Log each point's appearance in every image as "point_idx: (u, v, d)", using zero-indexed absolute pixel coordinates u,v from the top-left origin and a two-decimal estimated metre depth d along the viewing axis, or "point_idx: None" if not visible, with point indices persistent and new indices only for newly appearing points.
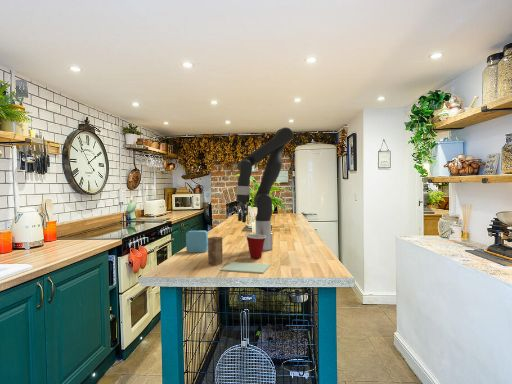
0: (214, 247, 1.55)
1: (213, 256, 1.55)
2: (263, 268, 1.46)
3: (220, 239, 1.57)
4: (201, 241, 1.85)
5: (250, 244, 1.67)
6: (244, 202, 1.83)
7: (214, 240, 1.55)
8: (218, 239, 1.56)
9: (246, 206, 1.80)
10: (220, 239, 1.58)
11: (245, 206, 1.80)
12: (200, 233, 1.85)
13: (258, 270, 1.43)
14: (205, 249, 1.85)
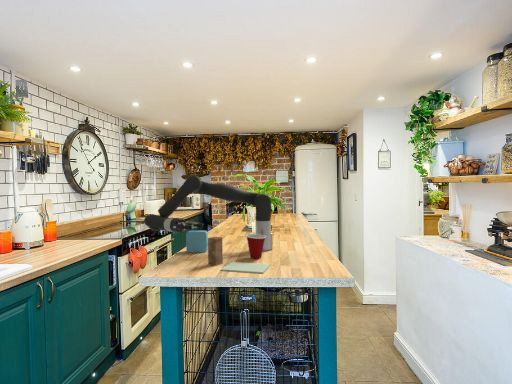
0: (214, 247, 1.55)
1: (213, 256, 1.55)
2: (263, 268, 1.46)
3: (220, 239, 1.57)
4: (201, 241, 1.85)
5: (250, 244, 1.67)
6: None
7: (214, 240, 1.55)
8: (218, 239, 1.56)
9: (174, 226, 1.62)
10: (220, 239, 1.58)
11: (174, 227, 1.62)
12: (200, 233, 1.85)
13: (258, 270, 1.43)
14: (205, 249, 1.85)
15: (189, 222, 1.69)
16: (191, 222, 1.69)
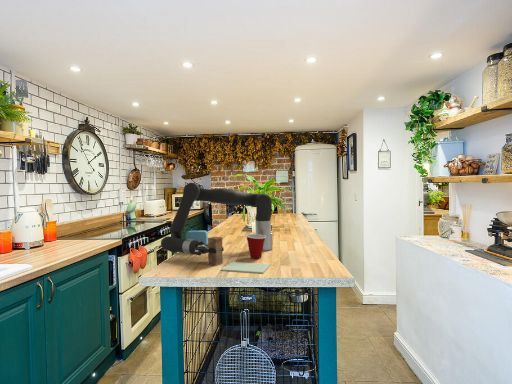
0: (214, 247, 1.55)
1: (213, 256, 1.55)
2: (263, 268, 1.46)
3: (220, 239, 1.57)
4: None
5: (250, 244, 1.67)
6: (195, 249, 1.60)
7: (214, 240, 1.55)
8: (218, 239, 1.56)
9: (196, 250, 1.55)
10: (220, 239, 1.58)
11: (196, 251, 1.55)
12: (200, 233, 1.85)
13: (258, 270, 1.43)
14: None
15: None
16: None
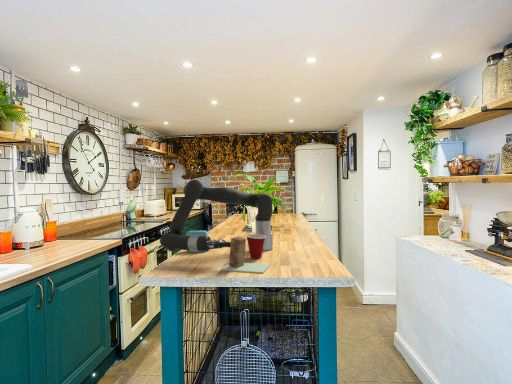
0: (237, 248, 1.47)
1: (235, 257, 1.48)
2: (263, 268, 1.46)
3: (244, 240, 1.50)
4: None
5: (250, 244, 1.67)
6: (204, 245, 1.51)
7: (238, 241, 1.47)
8: (242, 240, 1.48)
9: (212, 245, 1.48)
10: (244, 241, 1.50)
11: (212, 247, 1.48)
12: (200, 233, 1.85)
13: (258, 270, 1.43)
14: None
15: (216, 240, 1.54)
16: (218, 240, 1.54)
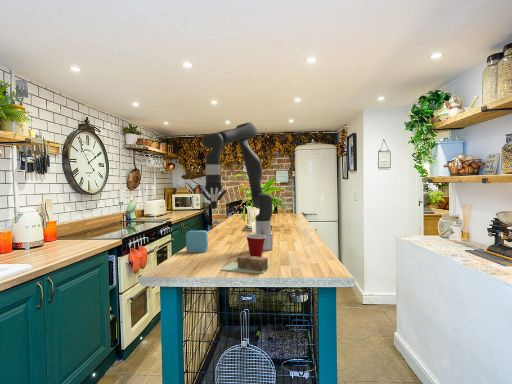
0: (254, 267, 1.43)
1: (245, 265, 1.45)
2: None
3: None
4: (201, 241, 1.85)
5: (250, 244, 1.67)
6: None
7: (260, 269, 1.41)
8: None
9: None
10: None
11: None
12: (200, 233, 1.85)
13: None
14: (205, 249, 1.85)
15: None
16: None
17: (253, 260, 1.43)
